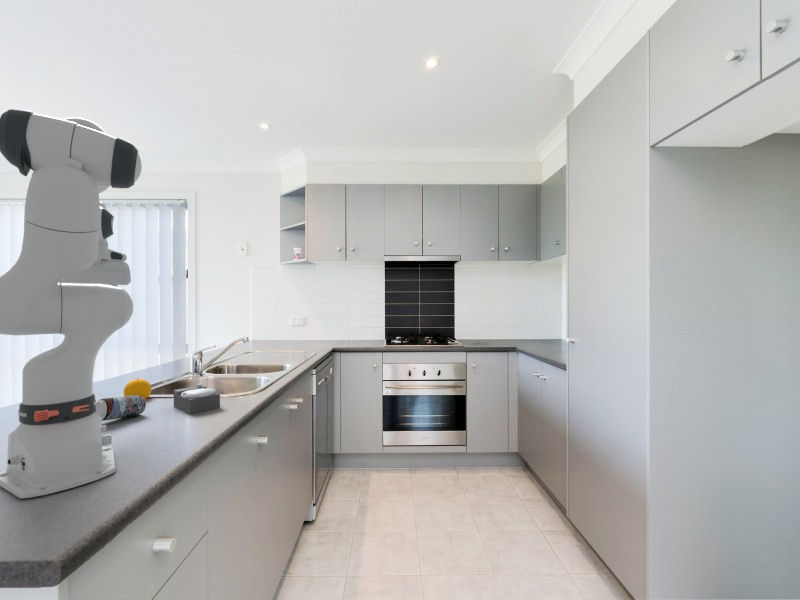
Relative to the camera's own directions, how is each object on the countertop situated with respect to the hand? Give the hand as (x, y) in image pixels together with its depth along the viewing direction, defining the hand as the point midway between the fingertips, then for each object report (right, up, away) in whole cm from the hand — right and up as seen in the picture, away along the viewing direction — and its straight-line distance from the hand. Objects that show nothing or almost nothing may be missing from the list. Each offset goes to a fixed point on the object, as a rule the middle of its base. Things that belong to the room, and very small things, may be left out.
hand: (89, 299), depth 113 cm
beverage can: (+10, -32, -10) cm, 35 cm away
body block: (+28, -35, +7) cm, 46 cm away
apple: (+3, -36, +17) cm, 39 cm away
